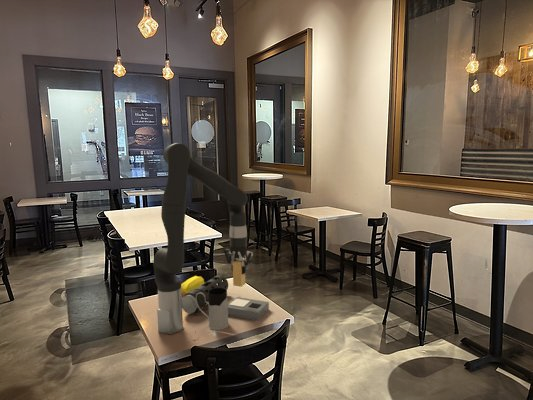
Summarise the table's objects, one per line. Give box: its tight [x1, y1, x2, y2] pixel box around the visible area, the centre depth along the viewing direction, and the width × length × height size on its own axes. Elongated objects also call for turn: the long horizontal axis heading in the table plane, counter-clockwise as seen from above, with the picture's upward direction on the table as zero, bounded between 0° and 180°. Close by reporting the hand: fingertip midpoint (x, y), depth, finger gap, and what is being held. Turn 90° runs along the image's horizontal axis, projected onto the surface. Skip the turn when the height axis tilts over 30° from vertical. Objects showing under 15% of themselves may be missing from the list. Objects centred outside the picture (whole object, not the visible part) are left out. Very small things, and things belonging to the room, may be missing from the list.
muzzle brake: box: [182, 274, 229, 314], centre depth 179 cm, size 10×28×10 cm, turn 157°
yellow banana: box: [181, 275, 205, 297], centre depth 196 cm, size 18×7×8 cm
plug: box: [232, 258, 246, 288], centre depth 169 cm, size 4×4×11 cm
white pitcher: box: [195, 288, 230, 332], centre depth 157 cm, size 9×14×15 cm, turn 77°
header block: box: [228, 296, 270, 322], centre depth 169 cm, size 12×16×4 cm
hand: (239, 272), depth 168 cm, fingers closed on plug, 4 cm apart
